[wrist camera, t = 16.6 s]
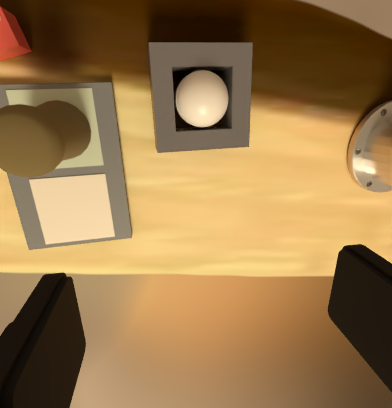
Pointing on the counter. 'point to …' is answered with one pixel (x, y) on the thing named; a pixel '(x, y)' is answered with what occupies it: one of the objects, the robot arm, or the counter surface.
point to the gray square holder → (193, 61)
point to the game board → (74, 173)
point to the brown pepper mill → (41, 137)
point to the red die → (11, 37)
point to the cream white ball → (201, 98)
